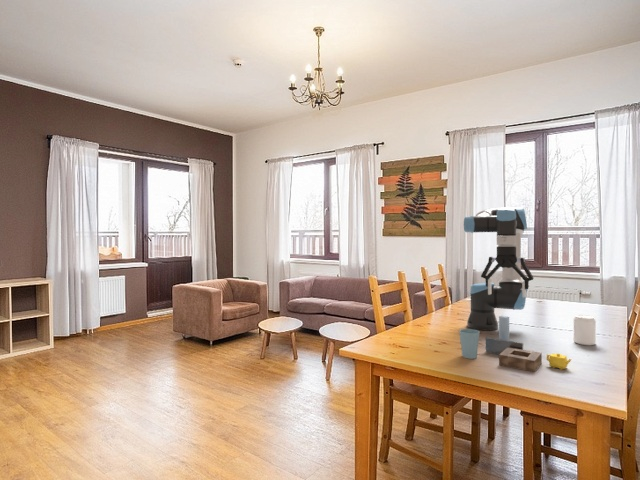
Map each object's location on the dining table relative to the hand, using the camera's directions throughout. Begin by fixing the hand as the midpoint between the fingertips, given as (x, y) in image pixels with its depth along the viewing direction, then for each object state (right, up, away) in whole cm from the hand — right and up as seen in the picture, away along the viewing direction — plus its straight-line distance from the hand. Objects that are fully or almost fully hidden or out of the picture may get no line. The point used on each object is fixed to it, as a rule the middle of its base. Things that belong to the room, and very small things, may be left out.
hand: (506, 295), depth 168 cm
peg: (-1, -23, 0) cm, 23 cm away
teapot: (+9, -24, -22) cm, 34 cm away
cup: (-19, -24, -9) cm, 32 cm away
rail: (-5, -23, -7) cm, 25 cm away
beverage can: (+38, -23, +8) cm, 45 cm away
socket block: (-4, -23, -19) cm, 30 cm away
